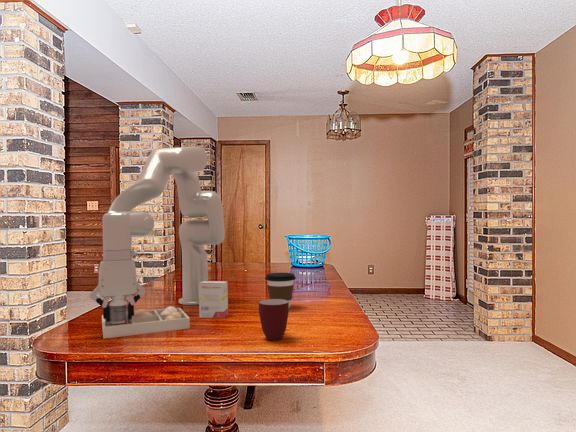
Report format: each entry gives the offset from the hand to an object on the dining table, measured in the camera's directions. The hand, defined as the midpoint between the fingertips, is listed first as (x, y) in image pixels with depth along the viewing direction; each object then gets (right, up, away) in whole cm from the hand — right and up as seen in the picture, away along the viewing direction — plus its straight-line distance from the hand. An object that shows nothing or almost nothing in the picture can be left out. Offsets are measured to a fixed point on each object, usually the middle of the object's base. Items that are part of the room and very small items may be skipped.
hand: (118, 319), depth 126 cm
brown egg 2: (+14, -4, +6) cm, 16 cm away
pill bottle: (0, -2, 0) cm, 2 cm away
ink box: (+24, -4, +19) cm, 31 cm away
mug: (+44, -4, -5) cm, 45 cm away
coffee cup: (+45, -4, +32) cm, 56 cm away
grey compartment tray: (+5, -4, +6) cm, 9 cm away
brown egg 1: (+4, -4, +10) cm, 11 cm away
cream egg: (+11, -4, +13) cm, 17 cm away
